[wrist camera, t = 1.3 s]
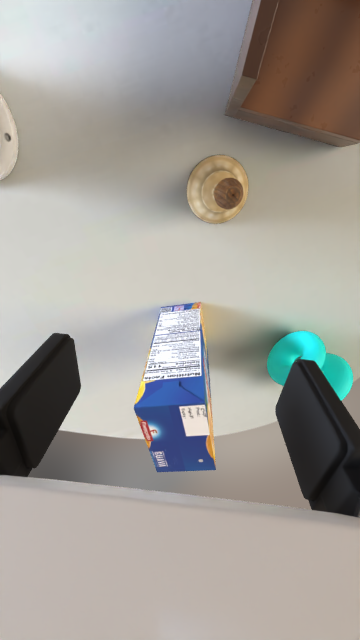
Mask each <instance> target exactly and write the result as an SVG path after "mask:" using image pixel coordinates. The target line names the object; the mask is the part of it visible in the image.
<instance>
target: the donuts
mask: <svg viewBox="0 0 360 640" xmlns="http://www.w3.org/2000/svg"><path fill="white" fill-rule="evenodd" d="M299 356H302V357H301V358H300V359H305V360H313V361H315V362H316V363H317V365H318V366H319V368H320V369H321V371H323V374H324V375H325V377H326V378H327V380H328V382H329V383H330V385H331V386H332V388H333V389H334V391H335V392H336V394H337V395H338V397H339V398H340V400H341V401H342V400H343V399H344V398H345V397H346V396H347V394H348V393H349V391H350V389H351V387H352V383H353V373H352V370H351V367H350V366H349V364H348V363H347V362H346V361H345V360H344V359H343V358H341V357H339V356H337V355H335V354H330V353H326V350H325V346H324V343H323V341H322V340H321V339H320V338H319V337H318V336H317V335H316V334H314V333H312V332H308V331H297V332H293V333H290V334H288V335H286V336H285V337H283V338H282V339H280V340H279V341H278V342H277V343H276V344H275V345H274V347H273V348H272V350H271V352H270V354H269V356H268V360H267V369H268V373H269V375H270V377H271V378H272V379H273V380H274V381H275V382H276V383H278V384H280V385H283V386H284V384H285V382H286V379H287V377H288V374H289V372H290V369H291V366H292V364H293V363H294V361H295V360H296V359H297V358H298V357H299Z"/></svg>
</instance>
